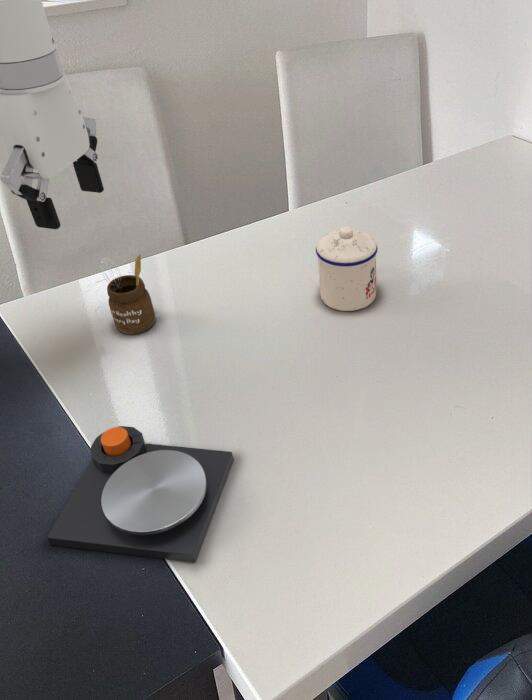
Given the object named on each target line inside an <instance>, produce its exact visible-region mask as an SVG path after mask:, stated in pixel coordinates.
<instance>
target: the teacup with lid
mask: <svg viewBox="0 0 532 700" xmlns="http://www.w3.org/2000/svg"><path fill="white" fill-rule="evenodd" d="M315 254H316V256H317V264H318V275H319V276H318V277H319V293H320V294H319V295H320V297H321V298H320V299H321V300H322V302H323V303H324V304H325V305H326V306H328V307H329V308H330V309H333V310H337V311H342V312H352V311H358V310H362V309H364V308H367V307H368V306H369V305H371V304H372V303H373V302H374V301H375V299H376V296H377V254H378V244H377V241H376V240H375V238H374V237H372V236H371V235H370V234H368V233H367V232H364V231H361V230H357V229H353V228H352V227H350V226H343V227H341V228H340V229H339V230H334V231H331V232H329V233H327V234H325V235H323V236H322V237H321V238H320V239H319V240H318V242H317V244H316V247H315Z"/></svg>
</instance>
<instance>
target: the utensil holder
mask: <svg viewBox="0 0 532 700" xmlns="http://www.w3.org/2000/svg"><path fill="white" fill-rule="evenodd" d="M107 260H108V261H110V263H111V264H112V266H113V267H114V270H115V273H116V276H117V277H116V276H115V274H114V272H113V270H112V269H111V267H110V265H109V263H108V261H107ZM101 263H104V264H105V265H106V268H107V270H108V272H109V273H111V274H112V275H111V277H112V280H110V278H109V277H108V274H107V272H106V270H105V267H104V266H101ZM108 266H109V267H108ZM99 267H100V268H99V270H100V272H101V274H102V276H103V278H104V279H106V278H107V279H108V284H107V287H106V293H107V296H108V307H109V312H110V315H111V317H112V321H113V323H114V325H115V327H116V329H117V330H118V331H119V332H121V333H122V334H126V335H137V334H141V333H143V332H145V331H146V332H147V331H148V330H149V329H150V328H152V327H153V325H154V324H155V321H156V313H155V309H154V304H153V301H152V297H151V294H150V293H149V291H148V290H147V288H146V285H145V283H144V280H143V278H141V277H140V274H141V272H142V255H141V252H139V253H138V255H137V256H136V258H135V259H134V275H133V274H127V275H121V273H118V272H121V270H120V269H119V266H118V264H117V262H116V261H115V260H114V259H113V258H110V257H105V258H102V259H101V260H100V262H99ZM110 270H111V271H110ZM117 270H118V271H117ZM102 271H103V272H102ZM118 274H119V276H118ZM113 276H114V277H113Z"/></svg>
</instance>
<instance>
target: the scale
mask: <svg viewBox="0 0 532 700" xmlns="http://www.w3.org/2000/svg"><path fill="white" fill-rule="evenodd" d="M118 427H122V428H124V429H125V430H126V431H127V433H128V436H129V438H130V441H131V446H130V448H129V450H128V451H127V452H125V453H124V454H122V455H118V456H109V455H107V454H106V453H105V451H104V448H103V445H102V443H101V436H102V434H103V433H104V432H102V433H100V434H99V435H98V436H97V437H96V438H95V439H94V440H93V443H91V445H90V447H89V448H90V456H91V460H90V462H89V464H88V466H87V468H86V469H85V471H84V472H83V474H82V476H81V478H80V479H79V481H78V483H77V485H76V487H75V488H74V490H73V491H72V493H71V495H70V496H69V498H68V499H67V501H66V503H65V505H64V507H63V508H62V510H61V512H60V514H59V516H58V517H57V519H56V521H55V522H54V524H53V526H52V528H51V529H50V530H49V533H48V535H47V536H46V539H47V540H48V542H49V544H50V545H51V546H57V547H64V548H73V549H79V550H80V549H82V550H89V551H97V552H104V553H105V552H106V553H113V554H120V555H121V554H122V555H130V556H139V557H147V558H152V559H153V558H154V559H162V560H171V561H179V562H185V563H196V562H197V559H198V556H199V554H200V551H201V549H202V546H203V543H204V540H205V538H206V535H207V533H208V530H209V527H210V524H211V522H212V519H213V516H214V514H215V511H216V508H217V506H218V503H219V500H220V498H221V494H222V493H223V489H224V487H225V485H226V482H227V479H228V476H229V473H230V471H231V469H232V465H233V463H234V460H235V459H234V455H233V452H232V451H229V450H228V451H226V450H217V449H206V448H195V447H185V446H177V445H176V446H175V445H166V444H156V443H146V441H145V437H144V435H143V433H142V431H140V430H139V429H137V428H136V427H133V426H125V425H119V426H118ZM107 430H108V429H107ZM107 430H105V431H107ZM159 450H173V451H179V452H182V453H185V454H188V455H190V456H191V457H193V458H194V459H195V460H197V461H198V462H199V463H200V465H201V466H202V468H203V470H204V472H205V476H206V481H207V487H206V493H205V496H204V498H203V501H202V503H201V504H200V506H199V507H198V509H197V510H196V511H195V512H194V513H193V514H192V515H191V516H190V517H189V518H188V519H187V520H185V521H184V522H182V523H181V524H179V525H178V526H176V527H174V528H172V529H169V530H167V531H164V532H161V533H157V534H151V535H134V534H129V533H125V532H123V531H121V530H118V529H117V528H115V527H114V526H113V525H112V524H111V523H110V522H109V521H108V520H107V518H106V517H105V514H104V512H103V509H102V505H101V498H102V493H103V489H104V487H105V485H106V483H107V481H108V480H109V478H110V477H111V476H112V474H113V473H114V472H115V471H116V470H117V469H118V468H119V467H121V466H122V465H123V464H125V463H126V462H128V461H129V460H131V459H133V458H135V457H137V456H139V455H142V454H145V453H148V452H153V451H159Z"/></svg>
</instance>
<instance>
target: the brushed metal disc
mask: <svg viewBox="0 0 532 700" xmlns="http://www.w3.org/2000/svg"><path fill="white" fill-rule="evenodd" d="M206 487H207V481H206V476H205V472H204V470H203V468H202V466H201V465H200V463H199V462H198V461H197V460H195V459H194V458H193V457H191V456H190V455H188V454H185V453H182V452H179V451H173V450H159V451H153V452H148V453H145V454H142V455H139V456H137V457H135V458H133V459H131V460H129V461H128V462H126V463H125V464H123V465H122V466H121V467H119V468H118V469H117V470H116V471H115V472H114V473H113V474H112V476H111V477H110V478H109V480H108V481H107V483H106V485H105V487H104V489H103V493H102V498H101V505H102V509H103V512H104V514H105V517H106V518H107V520H108V521H109V522H110V523H111V524H112V525H113V526H114V527H115V528H117V529H118V530H121V531H123V532H125V533H129V534H134V535H151V534H157V533H161V532H164V531H167V530H169V529H172V528H174V527H176V526H178V525H179V524H181V523H182V522H184V521H185V520H187V519H188V518H189V517H190V516H191V515H192V514H193V513H194V512H195V511H196V510H197V509H198V507H199V506H200V504H201V503H202V501H203V498H204V496H205V493H206Z"/></svg>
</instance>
